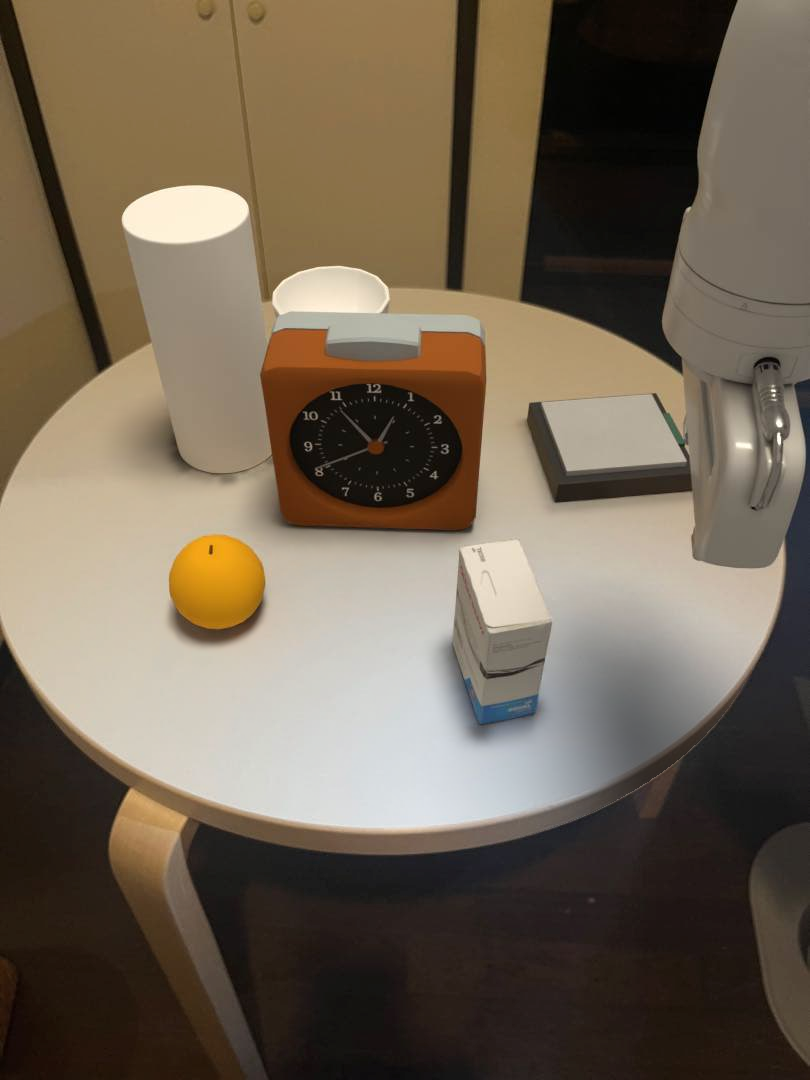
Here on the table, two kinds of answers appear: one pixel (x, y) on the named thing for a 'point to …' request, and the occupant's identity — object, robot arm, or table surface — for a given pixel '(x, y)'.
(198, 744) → the table surface
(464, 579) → the ink box
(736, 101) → the robot arm
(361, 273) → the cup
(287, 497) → the alarm clock
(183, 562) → the orange fruit with stem
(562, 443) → the scale
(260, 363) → the tall pillar cylinder
